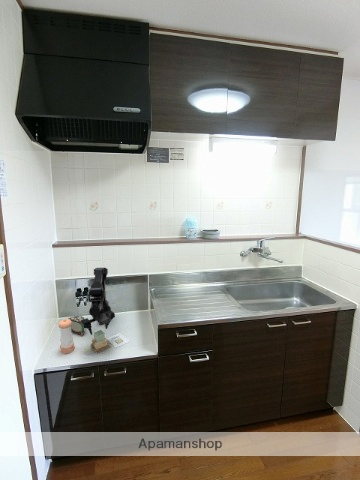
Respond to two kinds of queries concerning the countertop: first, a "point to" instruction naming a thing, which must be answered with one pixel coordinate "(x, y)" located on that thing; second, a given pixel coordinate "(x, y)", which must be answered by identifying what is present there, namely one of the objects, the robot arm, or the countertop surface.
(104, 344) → the oak brick
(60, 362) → the countertop surface
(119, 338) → the page
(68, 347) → the pepper shaker
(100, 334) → the sage brick
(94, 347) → the walnut base
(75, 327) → the food container
